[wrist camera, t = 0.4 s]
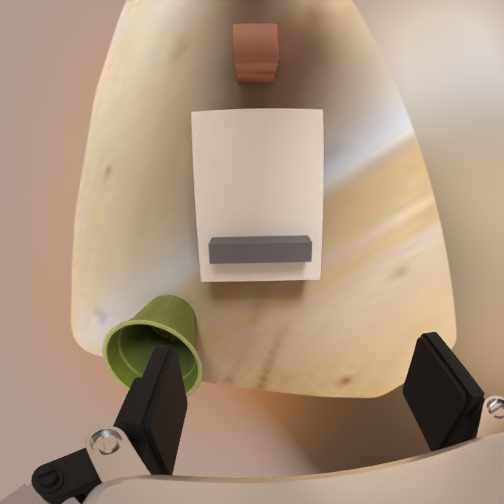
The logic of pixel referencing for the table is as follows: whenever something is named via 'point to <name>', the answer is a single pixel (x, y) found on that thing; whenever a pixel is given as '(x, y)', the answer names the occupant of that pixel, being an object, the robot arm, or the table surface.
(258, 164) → the toolbox lid
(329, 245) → the table surface
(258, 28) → the salmon orange block
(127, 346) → the plant pot
